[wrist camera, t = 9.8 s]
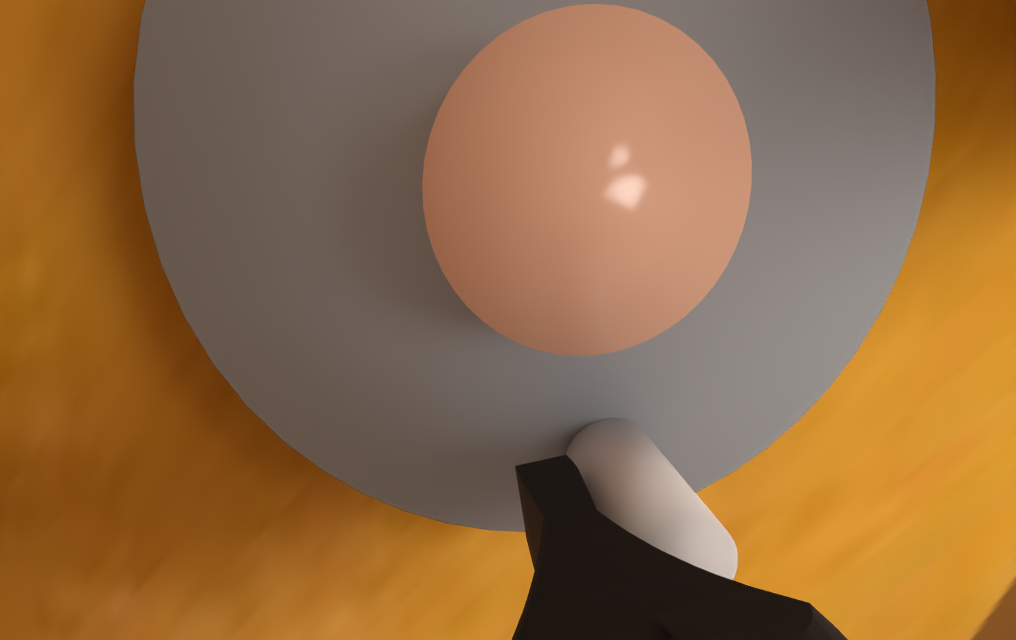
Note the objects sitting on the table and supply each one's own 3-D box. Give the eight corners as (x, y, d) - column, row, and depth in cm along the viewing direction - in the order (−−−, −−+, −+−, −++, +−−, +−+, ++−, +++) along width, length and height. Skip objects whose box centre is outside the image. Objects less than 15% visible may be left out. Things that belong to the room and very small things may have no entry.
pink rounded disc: (674, 22, 11) (744, -25, 8) (695, 292, 12) (757, 318, 10) (395, 71, 10) (382, 38, 8) (457, 345, 12) (463, 386, 9)
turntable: (905, -304, 11) (1339, -754, 6) (869, 427, 16) (1079, 546, 11) (26, -220, 9) (-503, -739, 4) (300, 561, 14) (223, 776, 9)
